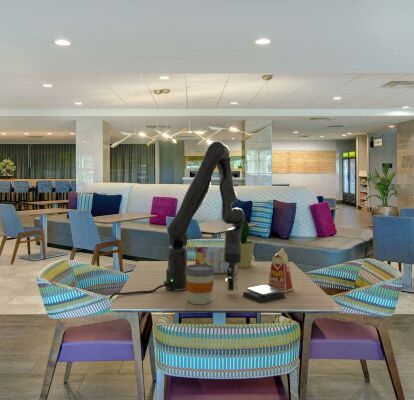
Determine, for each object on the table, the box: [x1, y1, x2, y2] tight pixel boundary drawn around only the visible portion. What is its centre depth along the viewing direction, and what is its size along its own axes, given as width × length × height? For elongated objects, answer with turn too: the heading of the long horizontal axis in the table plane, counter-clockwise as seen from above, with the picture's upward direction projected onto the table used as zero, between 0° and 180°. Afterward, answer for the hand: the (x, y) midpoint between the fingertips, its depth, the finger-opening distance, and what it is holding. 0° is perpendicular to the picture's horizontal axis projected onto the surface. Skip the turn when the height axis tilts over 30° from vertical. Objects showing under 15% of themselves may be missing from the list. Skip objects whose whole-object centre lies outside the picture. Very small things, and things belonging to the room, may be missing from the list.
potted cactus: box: [237, 219, 255, 269], centre depth 250 cm, size 15×15×30 cm
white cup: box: [224, 277, 240, 293], centre depth 187 cm, size 6×6×5 cm
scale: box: [242, 290, 286, 304], centre depth 183 cm, size 14×12×3 cm
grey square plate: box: [246, 284, 282, 296], centre depth 183 cm, size 11×11×1 cm
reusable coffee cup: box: [185, 263, 215, 305], centre depth 177 cm, size 13×13×15 cm
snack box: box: [194, 245, 229, 274], centre depth 232 cm, size 21×6×15 cm, turn 84°
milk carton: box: [268, 247, 294, 293], centre depth 195 cm, size 9×9×20 cm
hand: (232, 287), depth 187 cm, fingers closed on white cup, 6 cm apart
